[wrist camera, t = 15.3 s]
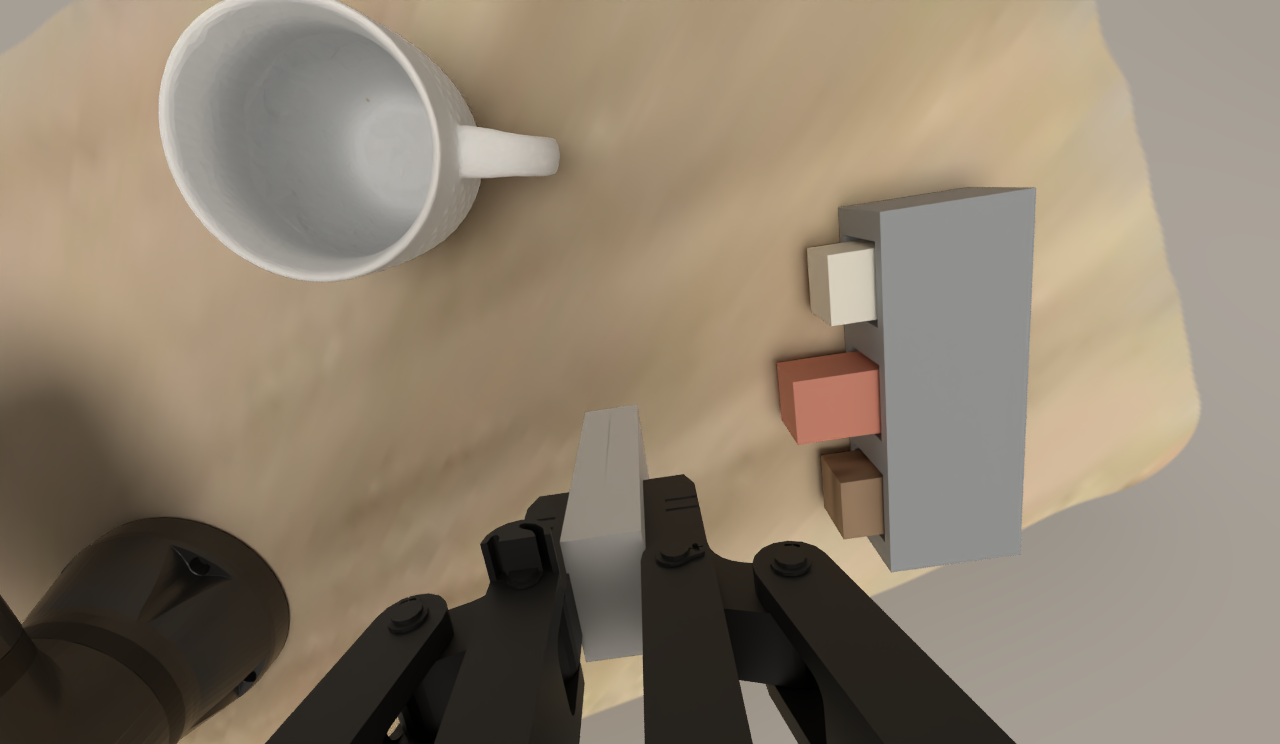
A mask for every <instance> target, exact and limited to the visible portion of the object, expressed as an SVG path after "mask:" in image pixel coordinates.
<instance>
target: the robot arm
mask: <svg viewBox="0 0 1280 744" xmlns="http://www.w3.org/2000/svg"><path fill="white" fill-rule="evenodd" d="M480 545H481V549H482V553H483V556H484V560H485V564H486V568H487V572H488V575H489V579H490V584H489V587H488V590H487V593H486V595H485V596H483V597H481V598H479V599H477V600H474V601H472V602H470V603H467V604H464V605H461V606H458V607H455V608H453V609H450V610H448V607H447V603H446V601H445V600H444V599H443V598H442V597H441V596H439V595H434V594H421V595H415V596H411V597H409V598H408V597H407V598H405V599H402V600H400V601H399V602H397V603H395V604H394V605H392V606H390V607H388V608H387V609H386V610H385V611H384V612H382V613H381V614H380V615H379V616H378V617H377V618H376V619H375V620H374V621H373V622H372V624H371V625H370V626H369V627H368V628H367V629H366V630H365V631H364V633H363V634H362V635H361V636H360V637H359V638H358V639H357V640H356V642H355V643H354V644H353V645H352V646H351V647H350V648H349V649H348V651H347V652H346V653H345V654H344V655H343V656H342V657H341V659H340V660H339V661H338V662H337V663H336V664H335V665H334V666H333V668H332V669H331V670H330V671H329V672H328V673H327V674H326V675H325V677H324V678H323V679H322V680H321V681H320V682H319V683H318V684H317V686H316V687H315V688H314V689H313V690H312V691H311V692H310V693H309V695H308V696H307V697H306V698H305V699H304V700H303V701H302V702H301V704H300V705H299V706H298V707H297V708H296V709H295V710H294V712H293V713H292V714H291V715H290V716H289V717H288V718H287V719H286V721H285V722H284V723H283V724H282V725H281V726H280V727H279V728H278V730H277V731H276V732H275V733H274V734H273V735H272V736H271V737H270V739H269V740H268V741H267V742H266V743H265V744H579V741H580V728H581V718H582V706H583V695H584V684H585V683H584V677H583V672H582V668H581V663H580V655H581V645H582V646H583V650H584V655H585V659H586V662H591V661H599V660H606V659H613V658H621V657H628V656H635V655H643V686H644V723H645V724H644V725H645V726H644V728H645V744H753V743H752V739H751V734H750V729H749V724H748V720H747V715H746V711H745V706H744V702H743V697H742V692H741V687H740V683H739V680H744V681H750V682H758V683H764V684H766V686H767V689H768V692H769V695H770V697H771V698H772V700H773V702H774V703H775V705H776V707H777V708H778V710H779V712H780V714H781V715H782V717H783V719H784V720H785V722H786V724H787V725H788V727H789V729H790V730H791V732H792V734H793V735H794V737H795V739H796V740H797V742H798V744H1016V743H1015V742H1014V741H1013V740H1012V739H1011V738H1010V737H1009V736H1008V735H1007V734H1006V733H1005V732H1004V731H1003V730H1002V729H1001V728H1000V727H999V726H998V725H997V724H996V723H995V722H994V721H993V720H992V719H991V718H990V717H989V716H988V715H987V714H986V713H985V712H984V711H983V710H982V709H981V708H980V707H979V706H978V705H977V704H976V703H975V702H974V701H973V700H972V699H971V698H970V697H969V696H968V695H967V694H966V693H965V692H964V691H963V690H962V689H961V688H960V687H959V686H958V685H957V684H956V683H955V682H954V681H953V680H952V679H951V678H950V677H949V676H948V675H947V674H946V673H945V672H944V671H943V670H942V669H941V668H940V667H939V666H938V665H937V664H936V663H935V662H934V661H933V660H932V659H931V658H930V657H929V656H928V655H927V654H926V653H925V652H924V651H923V650H922V649H921V648H920V647H919V646H918V645H917V644H916V643H915V642H914V641H913V640H912V639H911V638H910V637H909V636H908V635H907V634H906V633H905V632H904V631H903V630H902V629H901V628H900V627H899V626H898V625H897V624H896V623H895V622H894V621H893V620H892V619H891V618H890V617H889V616H888V615H887V614H886V613H885V612H884V611H882V609H881V608H880V607H879V606H878V605H877V604H876V603H875V602H874V601H873V600H872V599H871V598H870V597H869V596H868V595H867V594H866V593H865V592H864V591H863V590H862V589H861V588H860V587H859V586H858V585H857V584H856V583H855V582H854V581H853V580H852V579H851V578H850V577H849V576H848V575H847V574H846V573H845V572H844V571H843V570H842V569H841V568H840V567H839V566H838V565H837V564H836V563H835V562H834V561H833V560H832V559H831V558H830V557H829V556H828V555H827V554H826V553H825V552H823V551H822V550H820V549H819V548H817V547H816V546H814V545H810V544H807V543H804V542H796V541H784V542H778V543H773V544H771V545H769V546H766V547H764V548H762V549H761V550H760V551H759V552H758V553H757V554H756V555H755V557H754V560H753V563H744V562H737V561H731V560H728V559H725V558H722V557H720V556H719V555H717V554H715V553H714V552H713V551H712V550H711V549H710V548H709V545H708V543H707V539H706V535H705V530H704V526H703V521H702V516H701V512H700V507H699V502H698V498H697V493H696V489H695V484H694V483H693V482H692V481H691V480H690V479H689V478H687V477H686V476H685V475H684V474H682V475H675V476H668V477H661V478H654V479H649V475H648V469H647V462H646V456H645V450H644V444H643V438H642V432H641V426H640V420H639V413H638V407H637V405H630V406H623V407H616V408H609V409H603V410H596V411H589V412H585V416H584V421H583V427H582V432H581V437H580V442H579V447H578V452H577V457H576V462H575V467H574V472H573V477H572V482H571V487H570V492H568V493H561V494H554V495H547V496H540V497H539V498H538V499H537V500H536V501H535V502H534V503H533V504H532V505H531V506H530V507H529V508H528V510H527V513H526V516H525V520H519V521H515V522H511V523H508V524H505V525H503V526H501V527H499V528H497V529H495V530H494V531H492V532H491V533H490V534H488V535H487V536H486V537H485V538H484V540H483V541H482V542H481V544H480ZM288 628H289V612H288V606H287V602H286V599H285V596H284V593H283V591H282V588H281V586H280V584H279V582H278V581H277V579H276V577H275V576H274V574H273V573H272V571H271V570H270V569H269V568H268V566H267V565H266V564H265V563H264V562H263V561H262V560H261V559H260V558H259V557H258V556H257V555H256V554H255V553H254V552H253V551H252V550H250V549H249V548H248V547H247V546H245V545H244V544H242V543H241V542H240V541H238V540H236V539H235V538H233V537H231V536H230V535H228V534H226V533H224V532H222V531H220V530H217V529H215V528H212V527H210V526H207V525H204V524H201V523H197V522H193V521H188V520H183V519H175V518H151V519H143V520H138V521H134V522H130V523H127V524H124V525H122V526H120V527H117V528H116V529H114V530H112V531H110V532H109V533H107V534H106V535H104V536H103V537H101V538H100V539H98V540H97V541H95V542H94V543H92V544H91V545H89V546H88V547H86V548H85V549H83V550H82V551H81V552H80V553H78V554H77V555H76V556H75V557H74V558H73V559H72V560H71V561H70V562H69V563H68V564H67V566H66V567H65V568H64V569H63V571H62V573H61V575H60V576H59V577H58V579H57V580H56V581H55V582H54V583H53V585H52V586H51V587H50V588H49V590H48V591H47V592H46V593H45V595H44V596H43V597H42V598H41V600H40V601H39V602H38V604H37V605H36V606H35V608H34V609H33V610H32V611H31V613H30V614H29V615H28V617H27V618H26V619H25V621H24V622H23V623H22V624H21V623H20V622H19V620H18V619H17V617H16V616H15V615H14V613H13V612H12V610H11V609H10V607H9V606H8V605H7V603H6V602H5V600H4V599H3V598H2V596H1V595H0V744H177V743H178V742H179V740H180V739H182V738H183V737H184V736H186V735H187V734H188V733H190V732H191V731H193V730H194V729H195V728H197V727H198V726H200V725H201V724H202V723H204V722H205V721H207V720H208V719H209V718H211V717H212V716H214V715H215V714H216V713H218V712H219V711H221V710H222V709H223V708H225V707H226V706H228V705H229V704H230V703H232V702H233V701H235V700H236V699H237V698H239V697H240V696H242V695H243V694H244V693H246V692H247V691H248V690H249V689H251V688H252V687H253V686H254V685H255V684H256V683H257V682H258V681H259V680H260V679H261V677H262V676H263V675H264V674H265V672H266V671H267V670H268V668H269V667H270V666H271V664H272V663H273V662H274V660H275V659H276V658H277V656H278V655H279V653H280V652H281V650H282V648H283V646H284V644H285V641H286V638H287V634H288ZM397 717H398V718H399V721H400V723H399V725H398V726H397V728H396V729H395V731H394V732H393V733H392V734H391V735H390V736H388V735H387V732H388V730H389V728H390V727H391V725H392V724H393V722H394V721H395V719H396V718H397Z"/></svg>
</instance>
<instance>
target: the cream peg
mask: <svg viewBox="0 0 1280 744" xmlns="http://www.w3.org/2000/svg"><path fill="white" fill-rule="evenodd" d="M807 258H808V272H809V287H810V302H811V312H812V313H813V314H815V315H816V316H818V317H819V318H820V319H822V320H823V321H825V322H826V323H828V324H829V325H830V326H836V325H843V324H850V323H856V322H863V321H870V320H876V319H878V318H877V288H876V259H875V242H874V241H869V240H865V239H863V240H856V241H850V242H844V243H837V244H831V245H824V246H818V247H811V248H807Z"/></svg>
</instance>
